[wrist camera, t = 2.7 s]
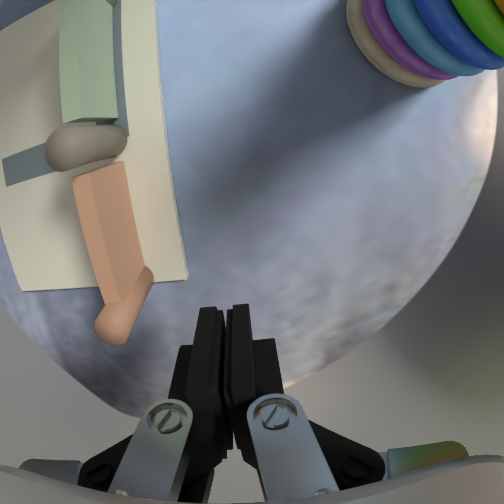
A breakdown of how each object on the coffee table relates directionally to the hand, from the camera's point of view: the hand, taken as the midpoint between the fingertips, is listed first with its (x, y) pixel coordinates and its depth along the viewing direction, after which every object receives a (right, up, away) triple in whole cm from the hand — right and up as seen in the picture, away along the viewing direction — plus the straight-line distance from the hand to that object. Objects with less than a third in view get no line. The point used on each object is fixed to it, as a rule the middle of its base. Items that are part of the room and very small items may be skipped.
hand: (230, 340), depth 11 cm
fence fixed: (-7, +15, +2) cm, 16 cm away
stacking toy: (+10, +17, +3) cm, 20 cm away
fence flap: (-7, +5, +6) cm, 10 cm away
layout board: (-11, +10, +5) cm, 16 cm away
